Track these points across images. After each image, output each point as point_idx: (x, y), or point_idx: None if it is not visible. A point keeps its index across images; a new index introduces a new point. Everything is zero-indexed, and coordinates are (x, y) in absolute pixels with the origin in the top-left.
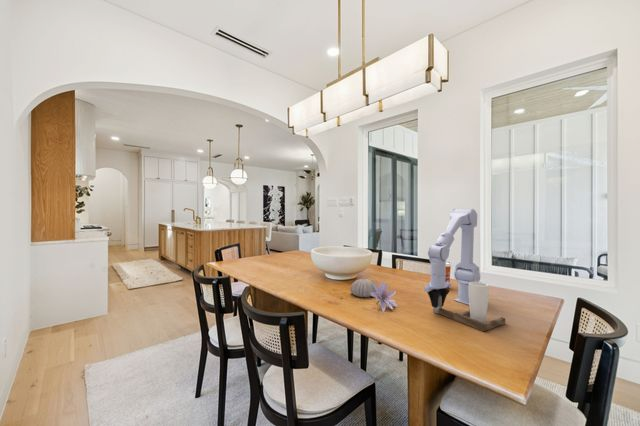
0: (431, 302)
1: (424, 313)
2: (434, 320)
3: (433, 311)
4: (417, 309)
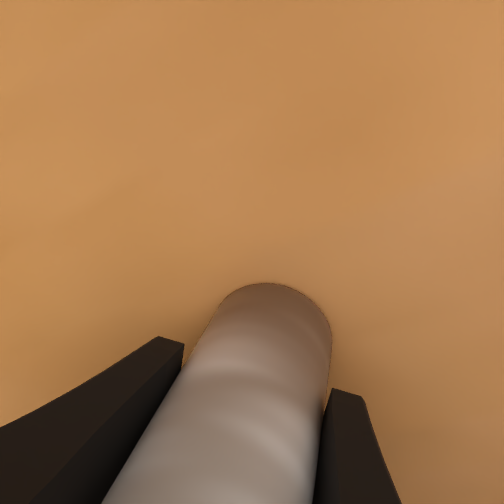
0: (104, 379)
1: (87, 215)
2: (18, 385)
3: (229, 297)
4: (132, 36)
